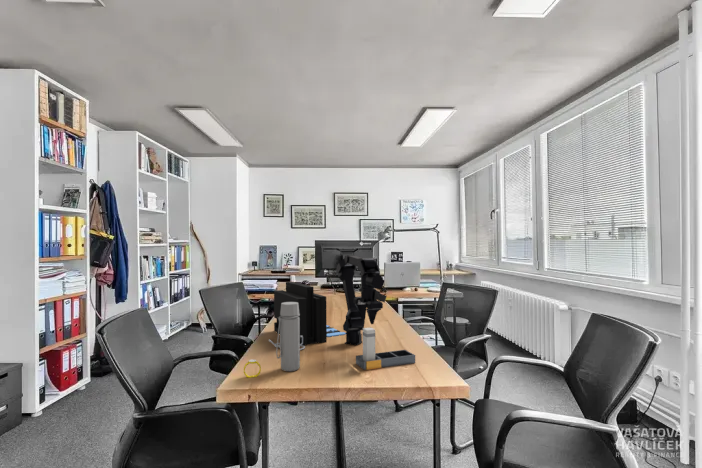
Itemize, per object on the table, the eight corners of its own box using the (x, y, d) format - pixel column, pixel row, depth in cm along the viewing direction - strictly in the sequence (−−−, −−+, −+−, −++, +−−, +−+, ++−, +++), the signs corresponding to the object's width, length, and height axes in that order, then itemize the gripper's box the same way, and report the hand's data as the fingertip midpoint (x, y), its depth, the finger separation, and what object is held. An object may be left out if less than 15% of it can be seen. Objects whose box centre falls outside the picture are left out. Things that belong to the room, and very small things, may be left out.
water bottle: (294, 364, 152) (294, 301, 153) (303, 370, 146) (303, 303, 146) (272, 368, 147) (272, 303, 148) (280, 374, 141) (280, 306, 141)
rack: (364, 371, 143) (364, 362, 144) (355, 364, 151) (355, 355, 152) (415, 364, 151) (415, 355, 152) (405, 358, 159) (404, 349, 160)
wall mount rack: (309, 346, 177) (308, 333, 177) (292, 356, 165) (292, 342, 165) (281, 342, 184) (280, 330, 183) (263, 352, 171) (262, 338, 171)
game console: (274, 331, 209) (274, 281, 210) (324, 325, 224) (324, 278, 225) (298, 346, 179) (298, 288, 179) (354, 338, 194) (354, 284, 194)
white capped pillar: (362, 364, 150) (362, 328, 151) (371, 363, 152) (370, 327, 152) (367, 367, 146) (366, 330, 147) (375, 366, 148) (375, 329, 148)
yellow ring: (260, 375, 141) (261, 359, 141) (260, 378, 138) (261, 361, 139) (243, 376, 139) (244, 359, 140) (243, 378, 137) (244, 361, 137)
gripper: (393, 287, 164) (394, 324, 163) (375, 283, 181) (375, 316, 181) (369, 289, 160) (370, 327, 159) (353, 284, 177) (353, 318, 177)
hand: (367, 322), depth 169 cm, fingers open, 9 cm apart
